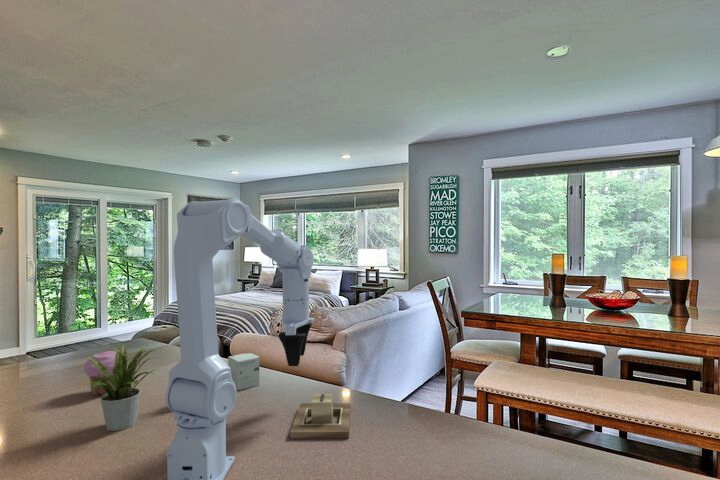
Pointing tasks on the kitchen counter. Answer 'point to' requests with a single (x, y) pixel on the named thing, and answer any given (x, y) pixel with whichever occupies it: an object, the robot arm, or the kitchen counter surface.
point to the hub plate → (321, 430)
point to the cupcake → (91, 371)
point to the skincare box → (244, 370)
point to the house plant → (121, 390)
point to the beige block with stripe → (322, 409)
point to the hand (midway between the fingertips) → (296, 360)
